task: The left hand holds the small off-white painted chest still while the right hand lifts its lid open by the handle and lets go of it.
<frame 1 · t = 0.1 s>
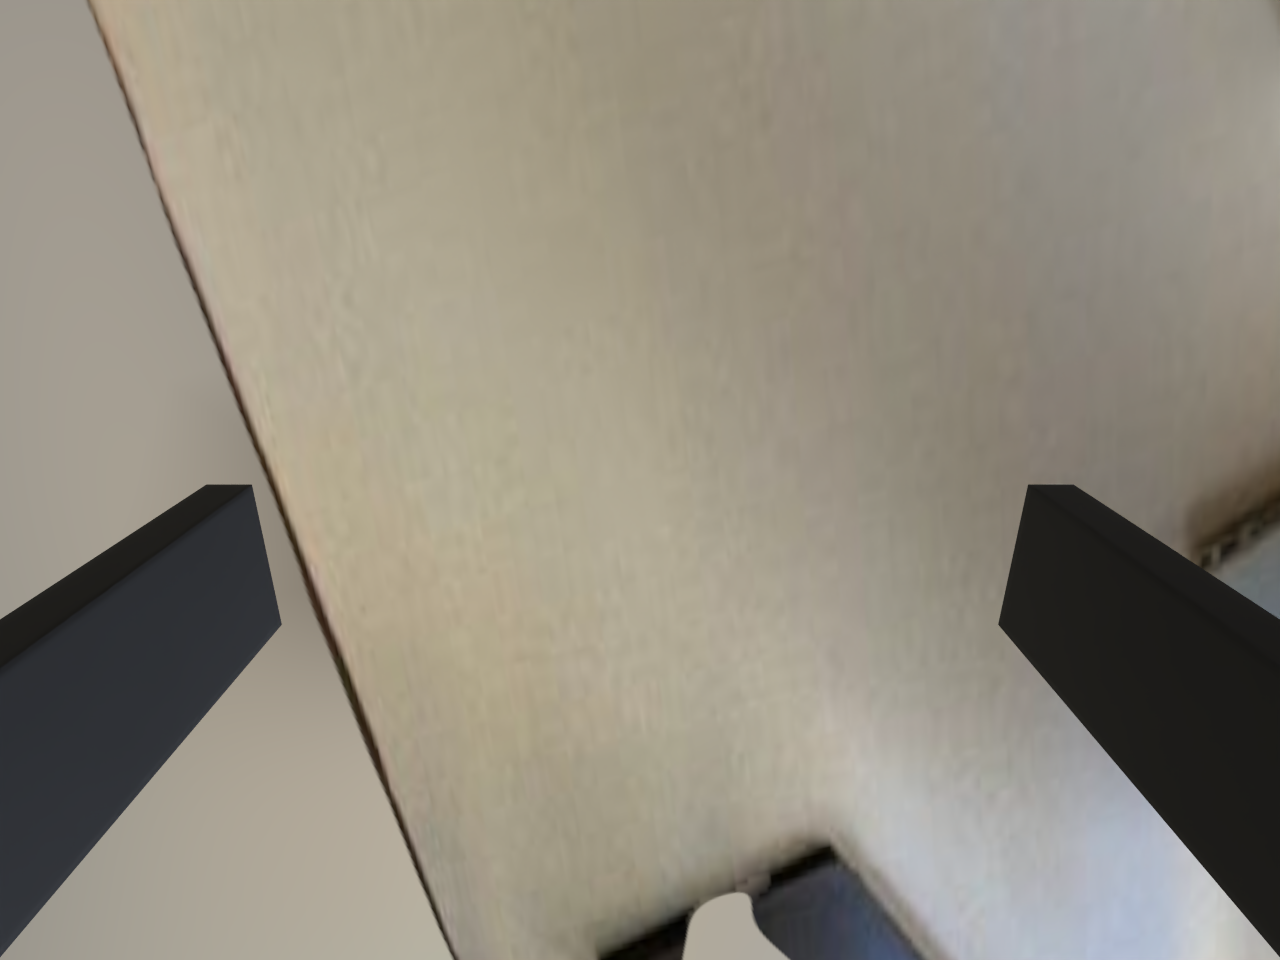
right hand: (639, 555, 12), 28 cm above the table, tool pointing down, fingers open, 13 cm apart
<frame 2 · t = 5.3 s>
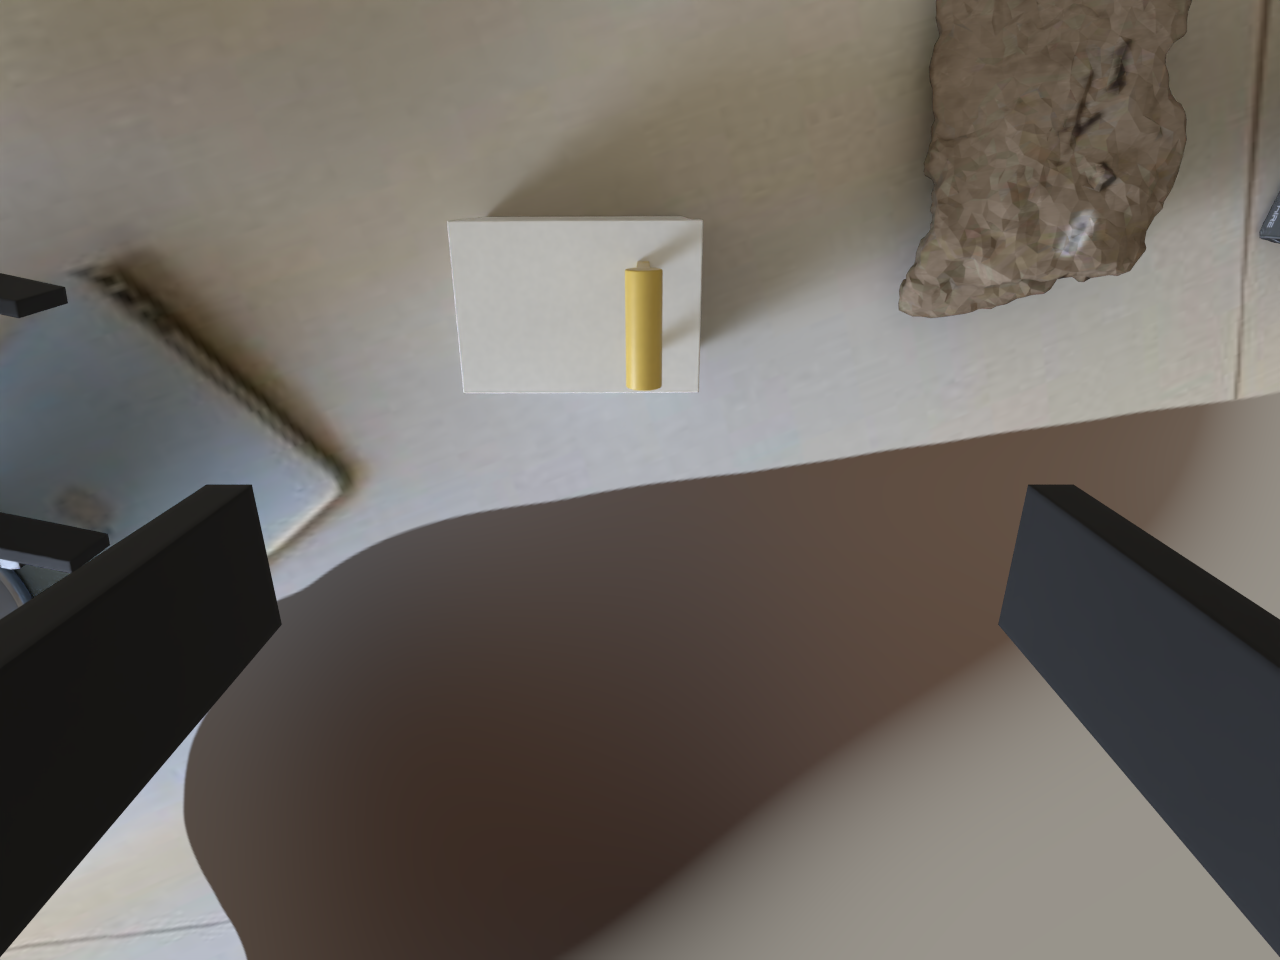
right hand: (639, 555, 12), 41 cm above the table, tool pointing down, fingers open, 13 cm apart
lid: (573, 319, 38), point 13 cm above the table, hinge at 0.0°
stone: (1011, 145, 47), on the table
chest: (585, 289, 50), on the table
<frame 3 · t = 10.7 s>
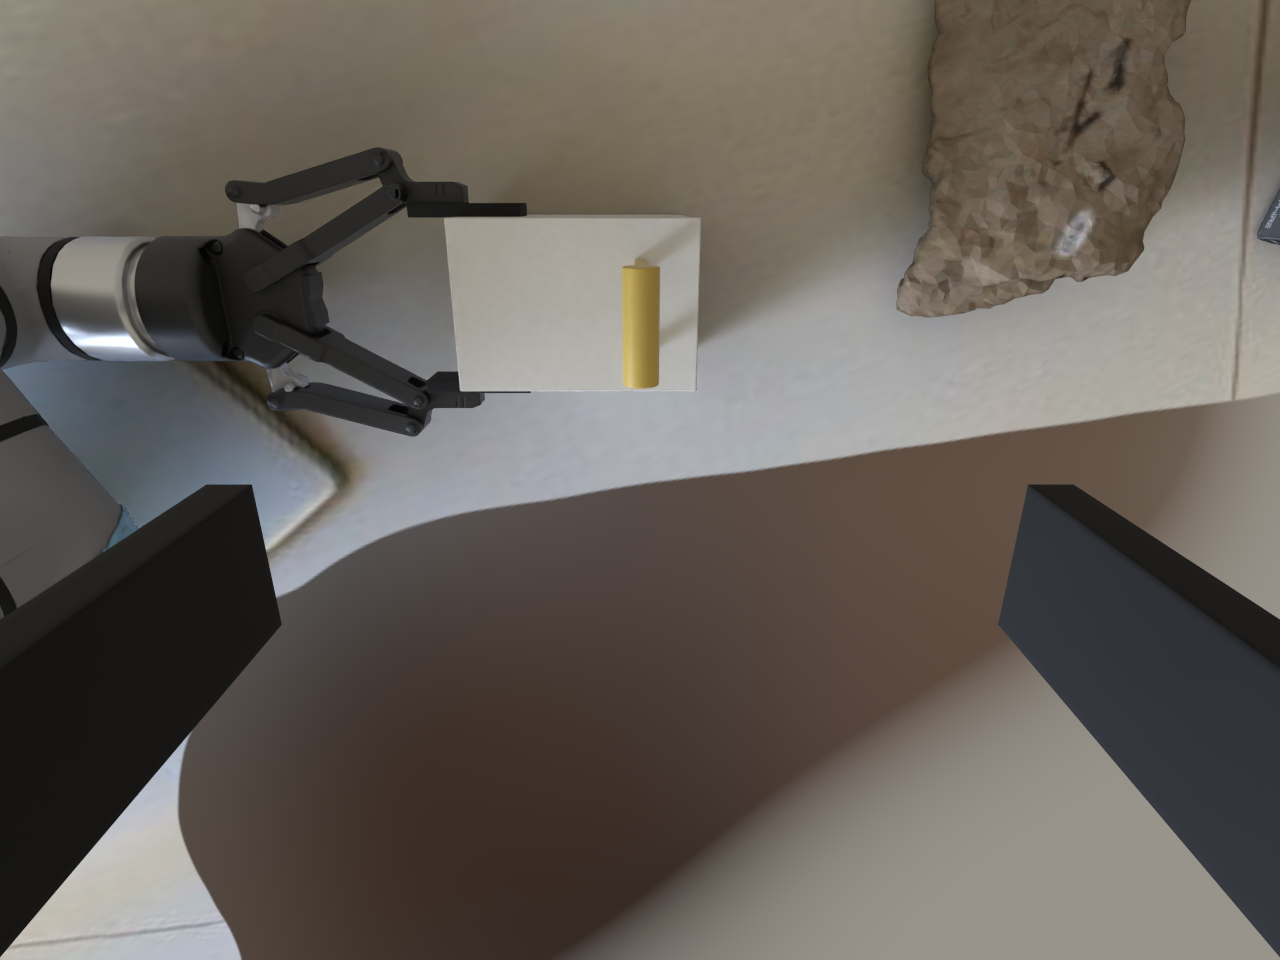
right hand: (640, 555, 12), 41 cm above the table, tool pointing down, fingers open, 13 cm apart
left hand: (528, 299, 44), fingers closed on chest, 10 cm apart
lid: (570, 317, 38), point 13 cm above the table, hinge at 0.0°
stone: (1009, 144, 47), on the table
chest: (583, 288, 50), on the table, touching left hand
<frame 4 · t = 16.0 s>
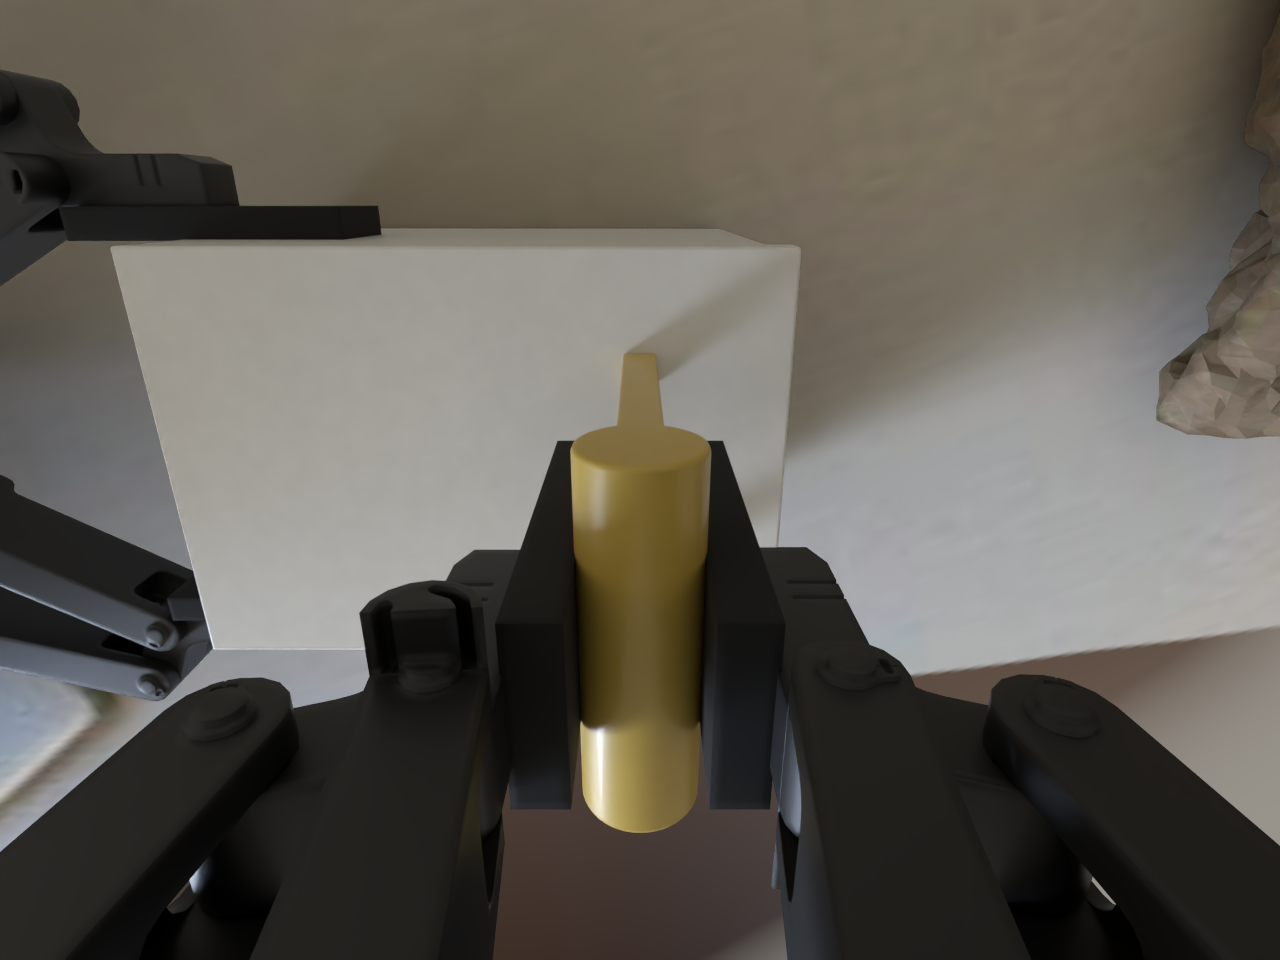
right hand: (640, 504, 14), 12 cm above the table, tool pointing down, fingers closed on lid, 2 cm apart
lid: (437, 533, 13), point 13 cm above the table, hinge at 0.0°, touching right hand
chest: (527, 371, 26), on the table, touching left hand
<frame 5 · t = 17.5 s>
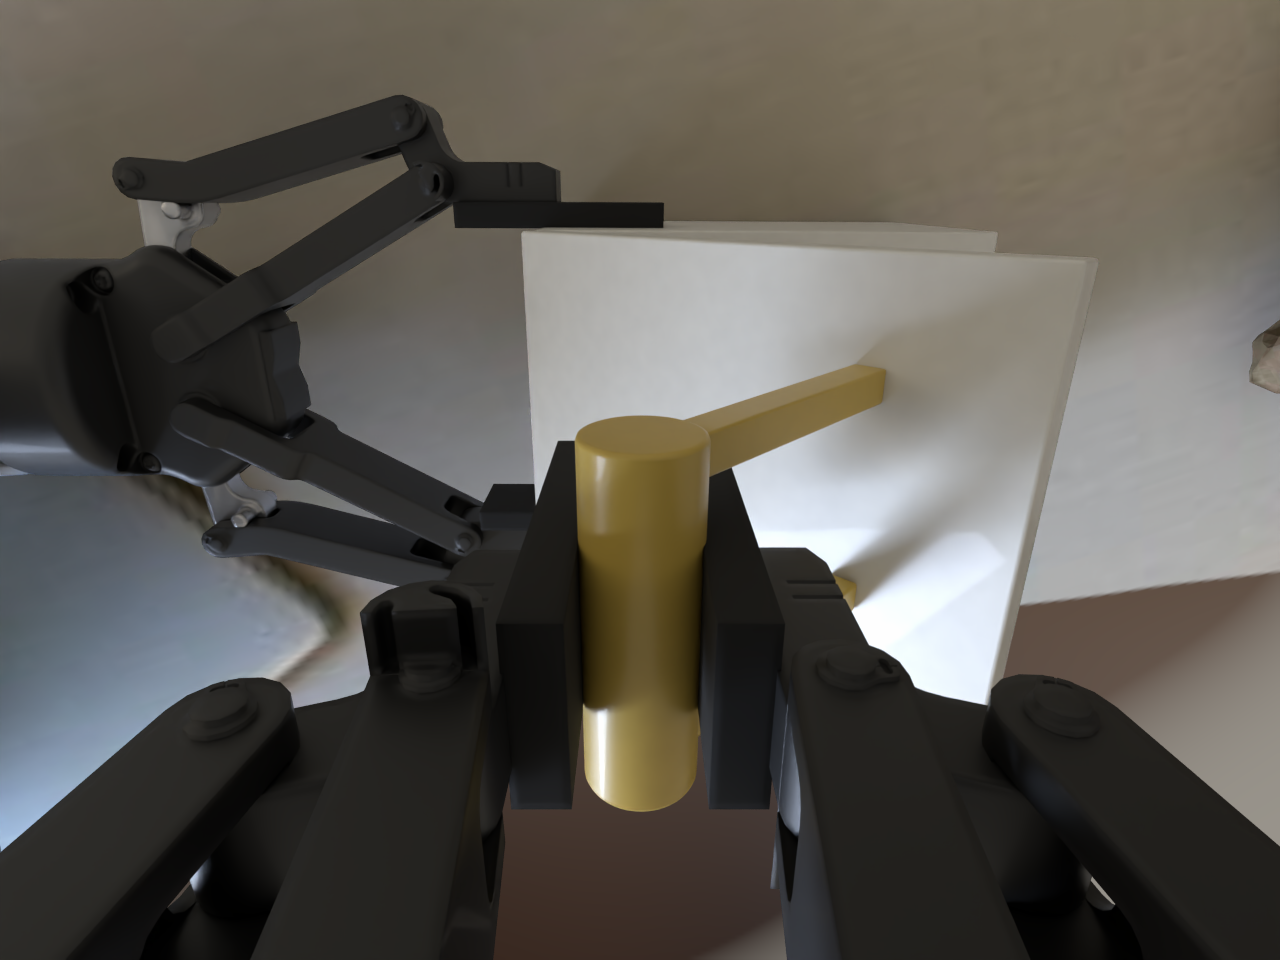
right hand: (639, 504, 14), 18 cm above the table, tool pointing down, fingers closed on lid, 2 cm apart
left hand: (660, 371, 25), fingers closed on chest, 10 cm apart
lid: (616, 490, 15), point 17 cm above the table, hinge at 43.0°, touching right hand
chest: (724, 339, 31), on the table, touching left hand
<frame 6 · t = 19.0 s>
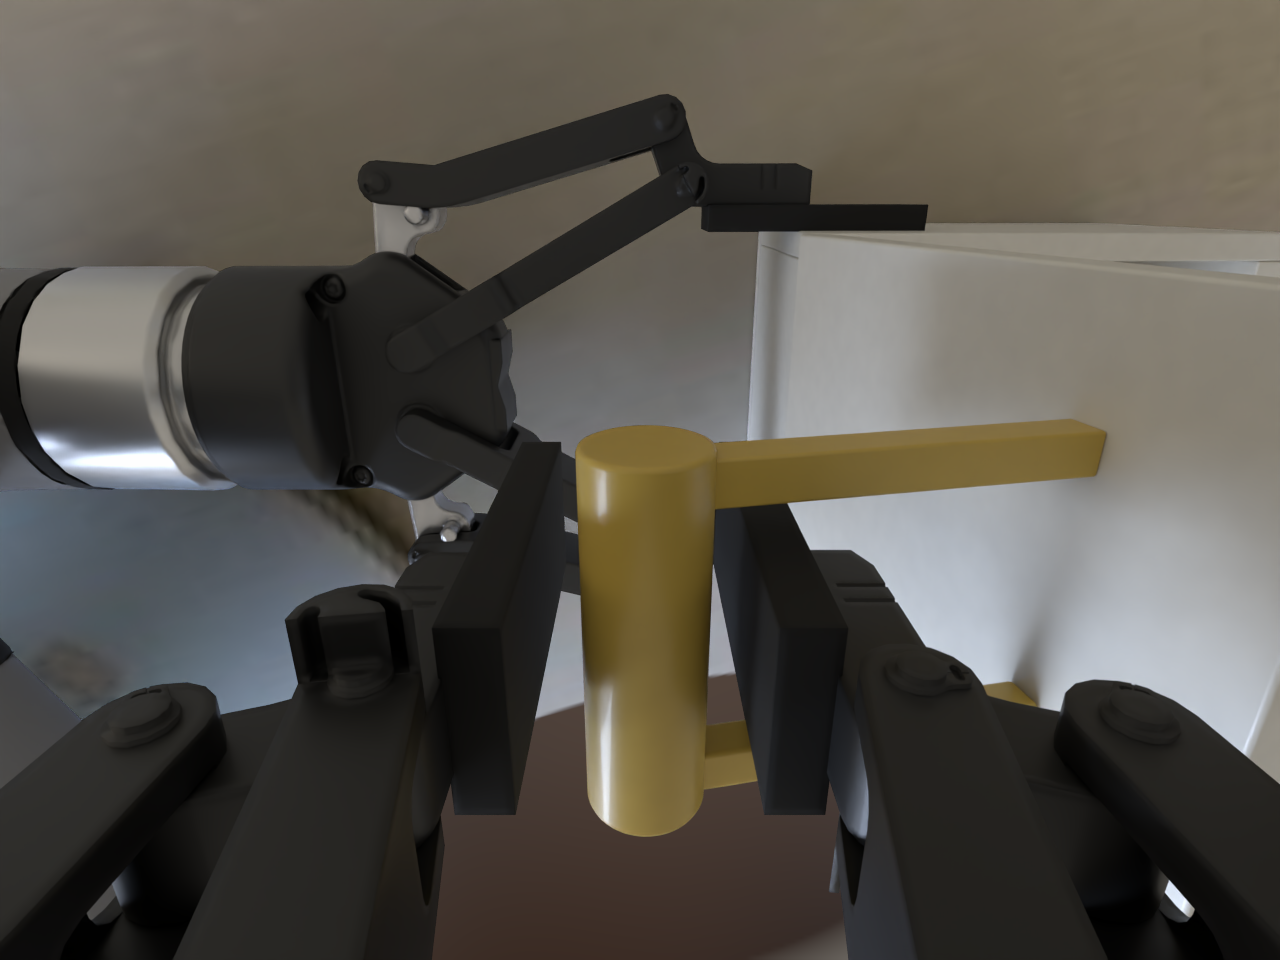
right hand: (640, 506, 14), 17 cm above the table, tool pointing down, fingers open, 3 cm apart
left hand: (889, 379, 24), fingers closed on chest, 10 cm apart
lid: (767, 511, 14), point 17 cm above the table, hinge at 78.2°
chest: (911, 344, 30), on the table, touching left hand
when the left hand's fingers open (6 cm above the table, at t = 23.1 s): chest stays where it is, on the table.
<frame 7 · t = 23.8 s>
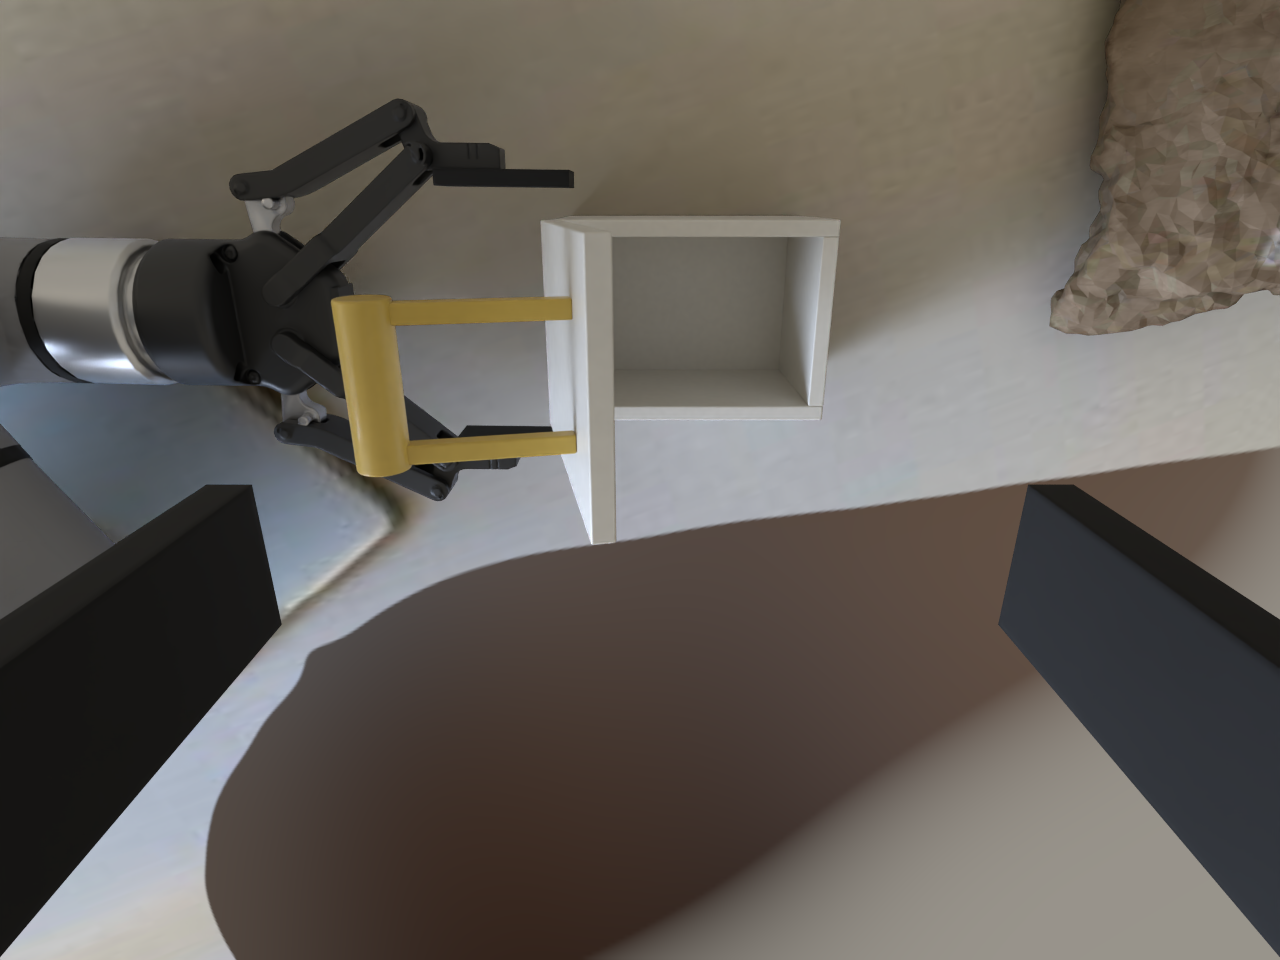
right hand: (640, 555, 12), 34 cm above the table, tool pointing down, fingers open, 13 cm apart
left hand: (575, 318, 38), fingers open, 13 cm apart
lid: (475, 359, 27), point 17 cm above the table, hinge at 77.8°
stone: (1187, 135, 40), on the table
chest: (682, 300, 44), on the table
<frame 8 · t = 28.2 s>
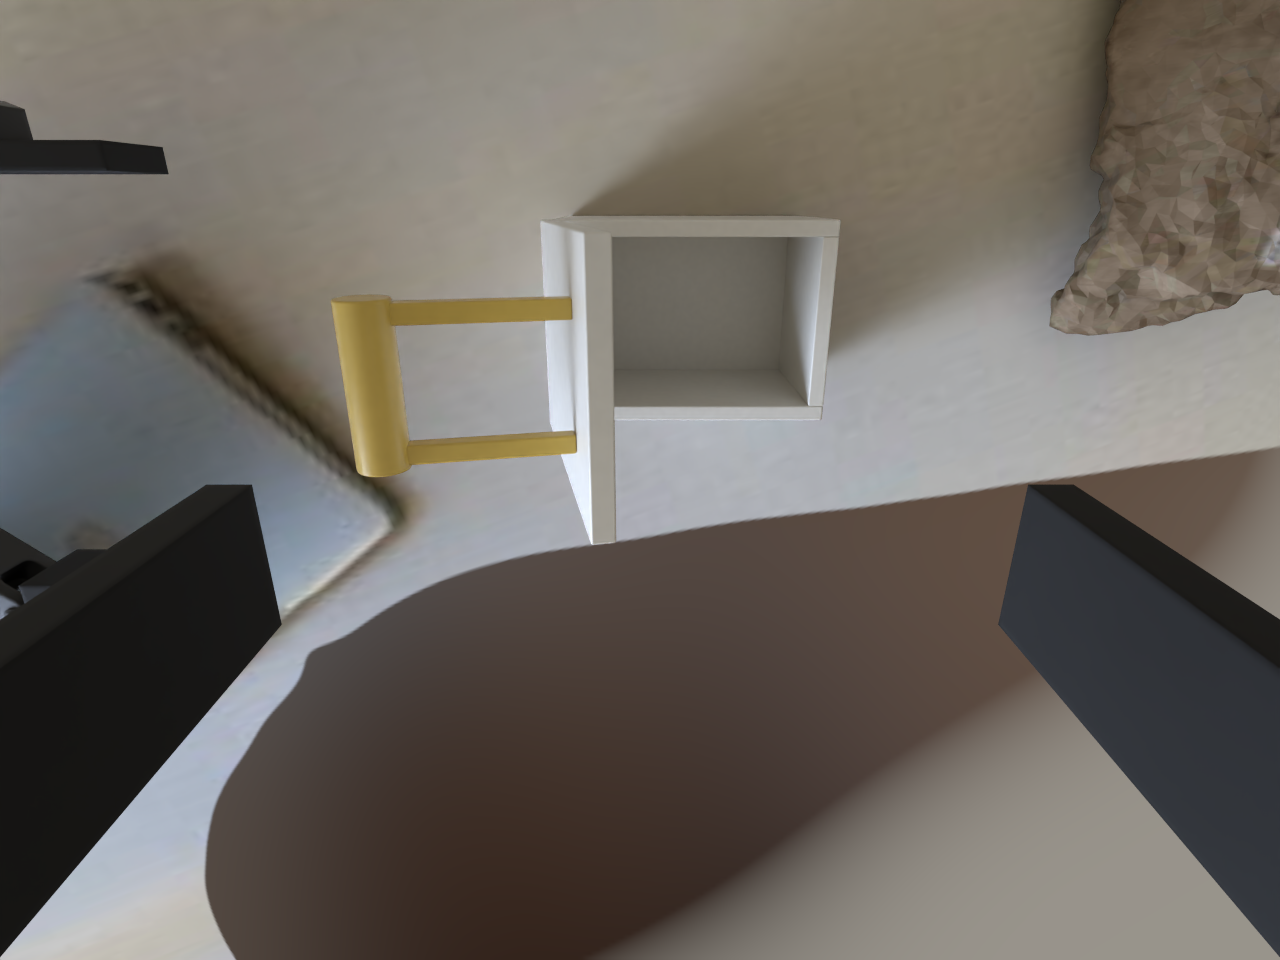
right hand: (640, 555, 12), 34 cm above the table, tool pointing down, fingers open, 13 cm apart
lid: (475, 359, 27), point 17 cm above the table, hinge at 77.8°
stone: (1187, 135, 40), on the table
chest: (682, 300, 44), on the table
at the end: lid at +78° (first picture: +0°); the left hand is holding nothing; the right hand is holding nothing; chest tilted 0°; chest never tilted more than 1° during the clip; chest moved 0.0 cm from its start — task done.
